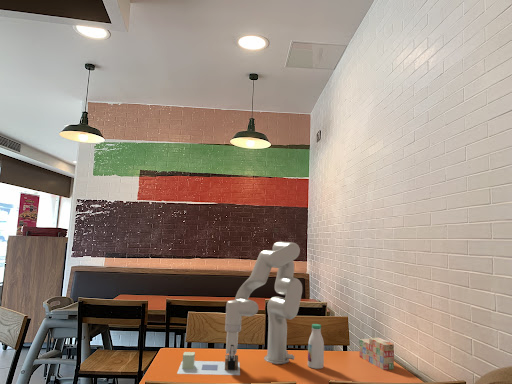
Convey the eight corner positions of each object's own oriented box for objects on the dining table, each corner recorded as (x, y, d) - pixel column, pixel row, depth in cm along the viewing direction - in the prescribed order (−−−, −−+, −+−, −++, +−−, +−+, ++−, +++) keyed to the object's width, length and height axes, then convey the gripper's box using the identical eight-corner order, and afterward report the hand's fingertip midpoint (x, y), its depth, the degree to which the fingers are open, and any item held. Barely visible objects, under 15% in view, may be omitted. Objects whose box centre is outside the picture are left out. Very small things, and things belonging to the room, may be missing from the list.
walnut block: (237, 366, 185) (238, 355, 186) (237, 370, 179) (238, 359, 180) (224, 365, 185) (225, 354, 185) (224, 370, 179) (225, 358, 179)
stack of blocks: (359, 356, 210) (359, 333, 212) (369, 356, 212) (369, 333, 214) (383, 370, 190) (383, 344, 192) (394, 369, 192) (394, 343, 193)
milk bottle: (325, 365, 193) (326, 324, 195) (321, 370, 186) (322, 327, 188) (310, 363, 196) (311, 322, 198) (305, 367, 189) (306, 325, 191)
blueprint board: (239, 363, 191) (239, 361, 191) (240, 376, 173) (240, 374, 173) (182, 361, 190) (182, 360, 190) (176, 375, 172) (176, 373, 172)
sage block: (194, 365, 184) (194, 352, 184) (193, 368, 179) (193, 355, 179) (183, 365, 183) (184, 351, 184) (182, 368, 178) (183, 355, 179)
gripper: (225, 323, 192) (223, 361, 190) (224, 331, 175) (222, 373, 173) (240, 323, 193) (238, 361, 191) (241, 332, 176) (239, 373, 174)
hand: (231, 366), depth 182 cm, fingers closed on walnut block, 6 cm apart
